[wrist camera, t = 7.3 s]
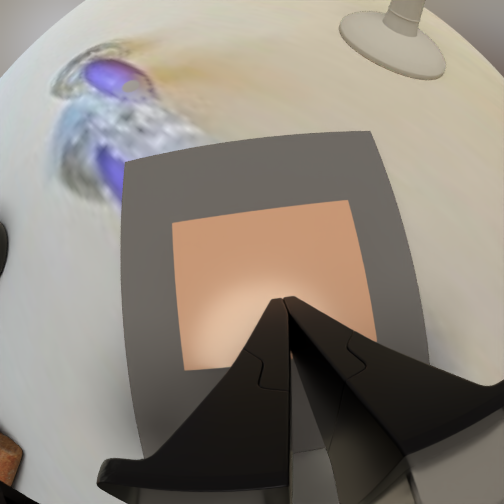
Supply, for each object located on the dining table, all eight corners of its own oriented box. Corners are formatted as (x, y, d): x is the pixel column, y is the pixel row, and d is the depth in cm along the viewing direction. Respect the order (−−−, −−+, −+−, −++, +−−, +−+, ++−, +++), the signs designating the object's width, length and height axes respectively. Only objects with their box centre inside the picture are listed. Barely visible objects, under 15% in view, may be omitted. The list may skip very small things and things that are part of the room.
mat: (428, 412, 14) (432, 414, 14) (147, 456, 14) (144, 458, 14) (368, 135, 20) (370, 131, 19) (127, 165, 20) (124, 162, 19)
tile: (377, 341, 14) (347, 199, 16) (184, 370, 14) (172, 222, 16) (367, 341, 15) (341, 210, 18) (191, 367, 15) (179, 232, 18)
